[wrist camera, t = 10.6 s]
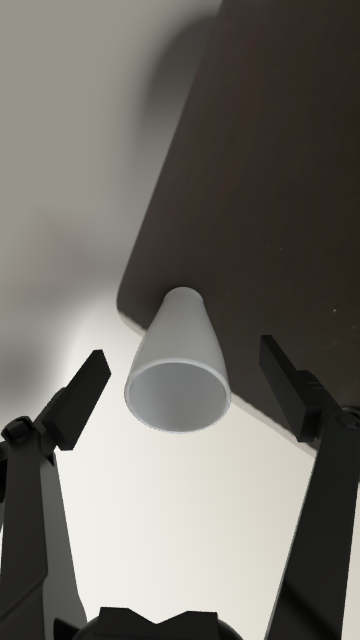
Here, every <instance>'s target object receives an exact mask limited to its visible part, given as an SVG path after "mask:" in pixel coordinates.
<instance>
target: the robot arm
mask: <svg viewBox="0 0 360 640" xmlns="http://www.w3.org/2000/svg"><path fill="white" fill-rule="evenodd" d="M259 364H260V366H261V368H262V370H263V372H264V374H265V376H266V378H267V380H268V382H269V384H270V386H271V388H272V390H273V392H274V394H275V396H276V398H277V400H278V402H279V404H280V406H281V408H282V410H283V413H284V415H285V417H286V419H287V421H288V423H289V425H290V427H291V429H292V431H293V433H294V435H295V437H296V439H297V441H298V442H313V441H314V437H315V436H316V437H317V439H318V441H319V442H320V444H319V447H318V450H317V453H316V458H315V462H314V465H313V469H312V472H311V476H310V479H309V483H308V486H307V490H306V493H305V497H304V501H303V504H302V508H301V511H300V515H299V518H298V522H297V525H296V529H295V532H294V536H293V539H292V543H291V547H290V550H289V554H288V557H287V561H286V564H285V568H284V571H283V575H282V579H281V582H280V585H279V589H278V593H277V596H276V600H275V603H274V606H273V610H272V613H271V617H270V620H269V623H268V627H267V631H266V634H265V638H264V640H341V636H342V625H343V617H344V607H345V598H346V589H347V580H348V571H349V562H350V553H351V544H352V535H353V526H354V516H355V507H356V499H357V490H358V481H359V472H360V420H359V419H358V418H357V417H355V416H354V415H352V414H350V413H349V412H346V411H343V410H342V409H341V407H340V406H339V405H338V404H337V402H336V401H335V400H334V399H333V398H332V396H331V395H330V394H329V393H328V391H327V390H326V389H325V388H324V387H323V385H322V384H320V382H319V380H318V379H317V378H316V377H315V376H314V375H313V374H311V373H310V372H309V371H307V370H301V371H297V370H296V369H295V367H294V366H293V364H292V363H291V362H290V360H289V359H288V358H287V356H286V355H285V353H284V352H283V351H282V349H281V348H280V346H279V345H278V344H277V342H276V341H275V340H274V338H273V337H272V335H261V341H260V356H259ZM110 376H111V371H110V369H109V366H108V364H107V361H106V358H105V356H104V353H103V351H102V349H101V350H93V352H92V353H91V355H90V356H89V357H88V358H87V360H86V361H85V362H84V364H83V365H82V367H81V368H80V369H79V370H78V372H77V373H76V375H75V376H74V377H73V379H72V380H71V381H70V383H69V384H68V385H67V387H63V388H61V389H60V390H59V391H58V392H57V393H56V394H55V395H54V396H53V397H52V399H51V401H49V403H48V404H47V406H45V408H44V409H43V410H42V412H41V413H40V414H39V415H38V417H37V418H36V419H35V420H34V422H32V421H31V419H30V418H29V417H28V416H21V417H19V418H16V419H14V420H13V421H11V422H10V423H9V424H7V425H6V426H5V428H4V429H3V430H2V432H1V436H2V437H3V438H4V439H5V440H6V441H3V442H0V532H1V529H2V525H3V538H2V554H1V569H0V640H243V639H242V637H241V636H240V635H239V634H238V633H237V632H236V631H235V630H234V629H233V628H231V627H230V626H229V625H228V624H227V623H225V622H223V621H221V620H220V619H218V614H217V612H199V611H186V612H184V613H182V614H179V615H177V616H175V617H172V618H170V619H168V620H165V621H163V622H161V623H158V624H155V623H153V622H151V621H149V620H147V619H146V618H144V617H142V616H141V615H139V614H137V613H135V612H133V611H132V610H130V609H129V608H115V607H101V608H100V613H99V616H97V617H96V618H94V619H93V620H91V621H90V622H88V623H87V618H86V614H85V610H84V607H83V605H82V603H81V600H80V598H79V595H78V590H77V585H76V579H75V573H74V566H73V560H72V555H71V548H70V543H69V536H68V529H67V523H66V518H65V511H64V505H63V499H62V492H61V486H60V480H59V474H58V468H57V462H56V455H55V453H54V449H55V447H56V446H58V447H59V449H60V450H61V451H67V450H73V448H74V446H75V444H76V443H77V441H78V438H79V437H80V435H81V433H82V431H83V429H84V427H85V425H86V423H87V421H88V419H89V417H90V415H91V413H92V411H93V409H94V407H95V405H96V403H97V401H98V399H99V397H100V395H101V394H102V392H103V390H104V388H105V386H106V384H107V382H108V380H109V378H110ZM3 522H4V523H3Z"/></svg>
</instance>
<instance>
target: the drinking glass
mask: <svg viewBox="0 0 360 640" xmlns="http://www.w3.org/2000/svg"><path fill="white" fill-rule="evenodd" d="M124 398H125V402H126V405H127V407H128V409H129V410H130V412H131V413H132V414H133V415H134V416H135V417H136V418H137V419H138V420H139V421H141V422H142V423H144V424H145V425H147V426H149V427H151V428H154V429H156V430H159V431H163V432H168V433H178V434H179V433H181V434H182V433H193V432H197V431H201V430H204V429H206V428H209V427H211V426H212V425H214V424H216V423H217V422H218V421H220V420H221V419H222V418H223V416H224V415H225V414H226V412H227V411H228V409H229V406H230V403H231V391H230V386H229V380H228V374H227V369H226V365H225V361H224V357H223V354H222V350H221V347H220V344H219V342H218V339H217V337H216V334H215V332H214V329H213V327H212V324H211V322H210V319H209V317H208V314H207V312H206V309H205V306H204V302H203V299H202V297H201V296H200V294H199V293H198V292H196V291H195V290H193V289H191V288H188V287H178V288H175V289H173V290H171V291H169V292H168V293H167V294H166V296H165V297H164V299H163V302H162V305H161V307H160V308H159V310H158V312H157V314H156V316H155V317H154V319H153V321H152V323H151V325H150V326H149V328H148V330H147V332H146V333H145V335H144V337H143V339H142V341H141V343H140V345H139V347H138V350H137V352H136V355H135V357H134V360H133V363H132V366H131V369H130V372H129V375H128V379H127V382H126V385H125V389H124Z"/></svg>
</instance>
